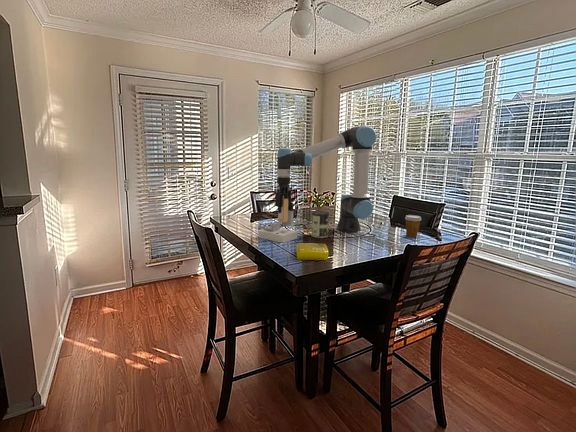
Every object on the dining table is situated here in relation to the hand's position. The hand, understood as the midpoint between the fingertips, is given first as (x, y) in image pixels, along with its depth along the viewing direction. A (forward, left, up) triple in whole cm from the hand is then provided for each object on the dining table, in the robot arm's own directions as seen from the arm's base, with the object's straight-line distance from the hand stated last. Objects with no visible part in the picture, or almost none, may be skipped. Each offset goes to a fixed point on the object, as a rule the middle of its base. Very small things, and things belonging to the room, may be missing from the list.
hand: (283, 217), depth 195 cm
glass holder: (+18, -33, -13) cm, 40 cm away
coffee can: (-13, -20, -13) cm, 27 cm away
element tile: (-30, +15, -13) cm, 36 cm away
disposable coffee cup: (-56, -58, -13) cm, 81 cm away
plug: (0, 0, -2) cm, 2 cm away
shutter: (+8, 0, -8) cm, 11 cm away
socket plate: (+3, 0, -12) cm, 13 cm away
